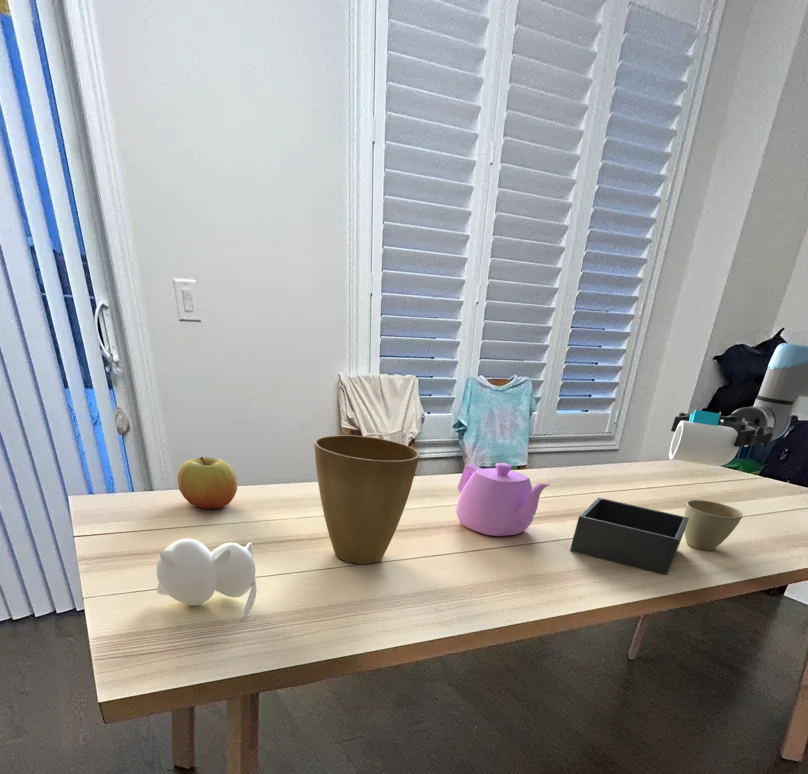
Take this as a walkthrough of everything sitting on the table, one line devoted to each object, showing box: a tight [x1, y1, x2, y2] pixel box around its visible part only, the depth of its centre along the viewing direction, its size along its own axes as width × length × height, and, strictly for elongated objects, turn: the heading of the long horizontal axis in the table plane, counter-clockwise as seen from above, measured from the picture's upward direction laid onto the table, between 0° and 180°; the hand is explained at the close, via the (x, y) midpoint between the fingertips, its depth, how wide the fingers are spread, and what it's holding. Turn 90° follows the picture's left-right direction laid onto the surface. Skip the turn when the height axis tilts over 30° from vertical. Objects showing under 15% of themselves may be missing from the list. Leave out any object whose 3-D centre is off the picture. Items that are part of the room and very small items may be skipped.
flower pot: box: [683, 499, 744, 551], centre depth 119 cm, size 10×10×7 cm
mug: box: [668, 409, 740, 467], centre depth 128 cm, size 12×9×12 cm
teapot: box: [455, 462, 551, 537], centre depth 113 cm, size 13×20×11 cm
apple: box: [177, 456, 238, 510], centre depth 108 cm, size 10×10×8 cm
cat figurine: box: [156, 538, 258, 617], centre depth 77 cm, size 9×11×12 cm
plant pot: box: [313, 434, 421, 565], centre depth 94 cm, size 15×15×16 cm
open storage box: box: [569, 497, 689, 576], centre depth 112 cm, size 17×16×6 cm
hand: (705, 431), depth 124 cm, fingers closed on mug, 12 cm apart
